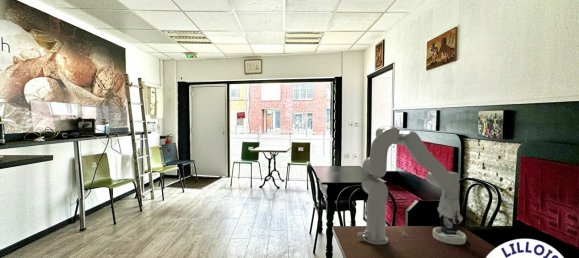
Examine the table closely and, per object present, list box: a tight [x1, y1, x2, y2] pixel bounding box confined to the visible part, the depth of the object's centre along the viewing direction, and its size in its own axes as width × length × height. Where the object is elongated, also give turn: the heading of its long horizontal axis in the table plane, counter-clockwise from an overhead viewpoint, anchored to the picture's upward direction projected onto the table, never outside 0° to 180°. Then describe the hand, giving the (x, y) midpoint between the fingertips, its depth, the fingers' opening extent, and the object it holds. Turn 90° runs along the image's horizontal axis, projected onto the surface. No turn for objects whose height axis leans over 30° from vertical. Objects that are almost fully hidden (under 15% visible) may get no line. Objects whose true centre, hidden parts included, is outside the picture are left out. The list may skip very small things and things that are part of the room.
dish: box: [432, 226, 467, 246], centre depth 147 cm, size 15×15×3 cm
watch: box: [440, 215, 456, 235], centre depth 147 cm, size 6×8×11 cm
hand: (448, 227), depth 147 cm, fingers closed on watch, 8 cm apart
